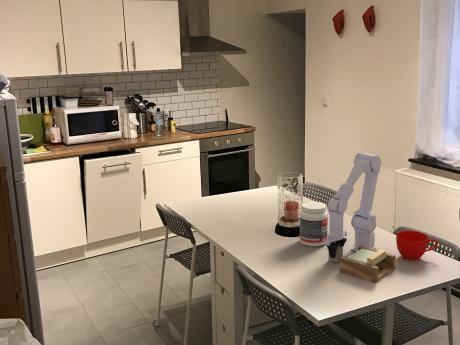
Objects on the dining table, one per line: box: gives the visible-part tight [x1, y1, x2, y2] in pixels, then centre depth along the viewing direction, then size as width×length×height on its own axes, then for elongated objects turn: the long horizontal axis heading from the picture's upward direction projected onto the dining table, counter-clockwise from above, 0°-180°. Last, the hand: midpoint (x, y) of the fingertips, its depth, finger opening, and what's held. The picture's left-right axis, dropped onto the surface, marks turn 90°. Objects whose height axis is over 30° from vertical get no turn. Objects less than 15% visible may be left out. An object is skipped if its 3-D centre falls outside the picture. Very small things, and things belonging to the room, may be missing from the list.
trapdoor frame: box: [339, 246, 396, 284], centre depth 210 cm, size 17×16×6 cm
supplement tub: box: [299, 201, 329, 247], centre depth 239 cm, size 13×13×18 cm
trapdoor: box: [346, 249, 387, 266], centre depth 209 cm, size 12×11×3 cm
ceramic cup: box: [395, 230, 439, 262], centre depth 219 cm, size 13×17×10 cm
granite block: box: [328, 245, 344, 264], centre depth 220 cm, size 4×4×6 cm
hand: (335, 255), depth 220 cm, fingers closed on granite block, 4 cm apart
